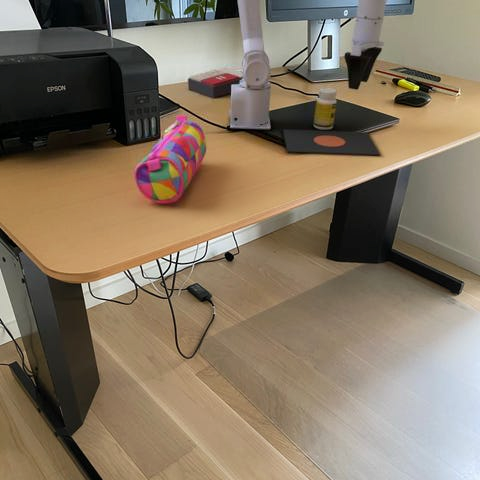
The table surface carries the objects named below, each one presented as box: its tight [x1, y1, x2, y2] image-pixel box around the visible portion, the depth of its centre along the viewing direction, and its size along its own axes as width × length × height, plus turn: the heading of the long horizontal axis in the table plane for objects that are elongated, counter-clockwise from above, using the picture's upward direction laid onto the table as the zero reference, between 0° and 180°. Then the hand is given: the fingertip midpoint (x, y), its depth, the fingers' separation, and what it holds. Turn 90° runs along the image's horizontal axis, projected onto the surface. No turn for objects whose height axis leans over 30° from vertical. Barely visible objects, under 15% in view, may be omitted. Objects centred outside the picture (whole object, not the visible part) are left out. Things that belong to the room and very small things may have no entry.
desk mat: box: [282, 129, 381, 157], centre depth 115 cm, size 20×14×1 cm
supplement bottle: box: [313, 87, 337, 131], centre depth 121 cm, size 5×5×8 cm
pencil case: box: [133, 114, 207, 205], centre depth 92 cm, size 22×9×9 cm, turn 174°
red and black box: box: [187, 67, 243, 99], centre depth 145 cm, size 11×4×15 cm
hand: (358, 85), depth 117 cm, fingers open, 7 cm apart
